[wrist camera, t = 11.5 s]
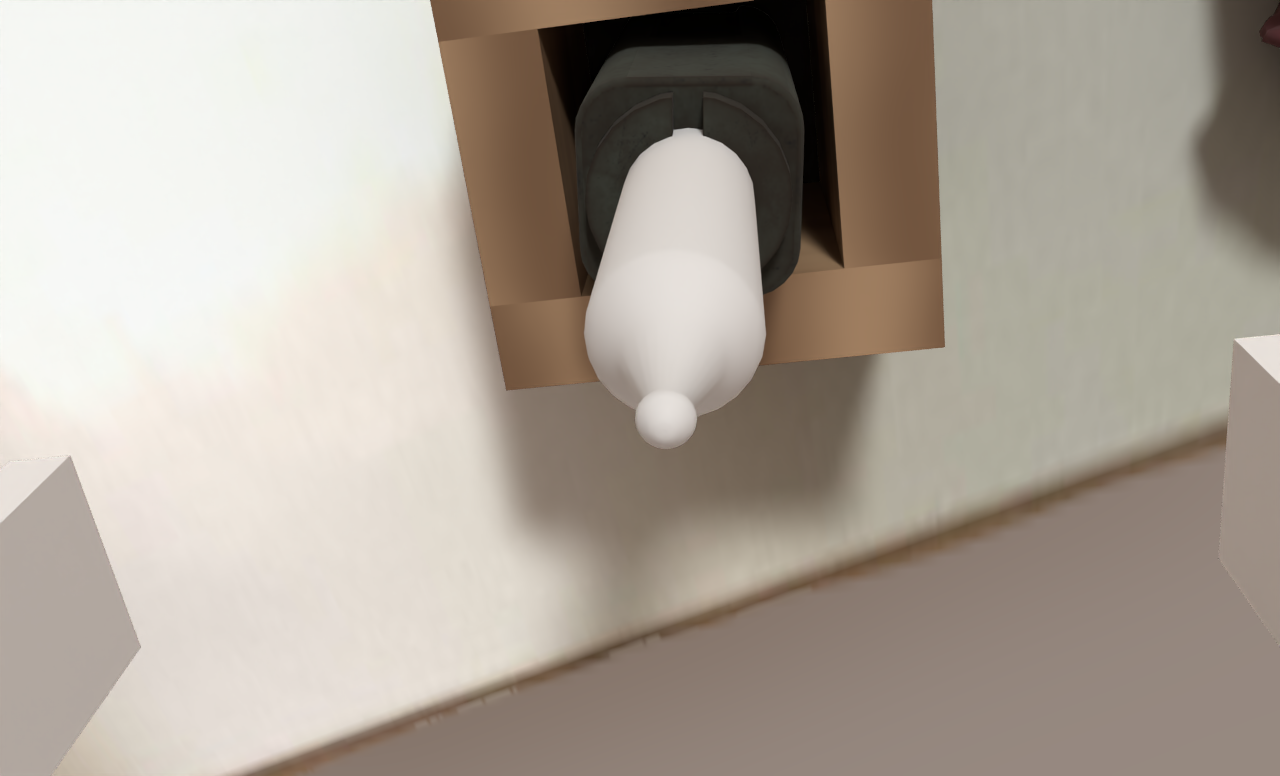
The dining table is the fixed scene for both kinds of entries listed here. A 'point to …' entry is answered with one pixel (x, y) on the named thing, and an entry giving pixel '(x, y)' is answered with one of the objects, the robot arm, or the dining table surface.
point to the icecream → (1272, 29)
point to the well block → (831, 209)
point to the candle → (687, 210)
